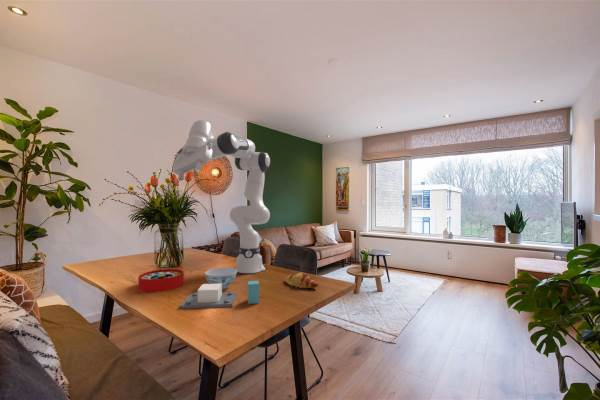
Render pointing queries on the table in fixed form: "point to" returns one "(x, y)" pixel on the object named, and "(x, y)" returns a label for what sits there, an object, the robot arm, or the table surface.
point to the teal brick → (253, 292)
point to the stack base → (221, 303)
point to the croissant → (301, 280)
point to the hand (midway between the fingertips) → (188, 176)
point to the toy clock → (160, 280)
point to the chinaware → (221, 276)
